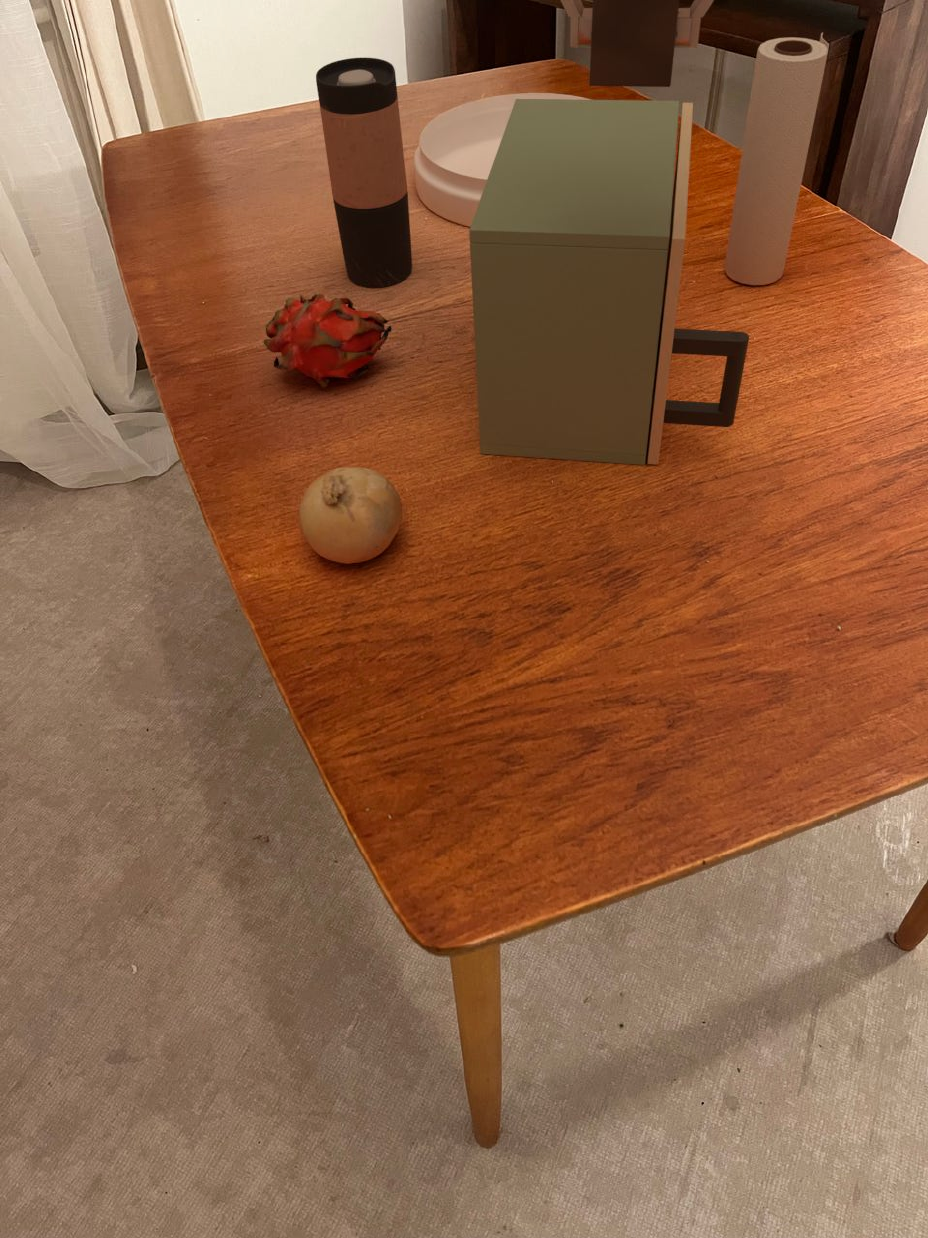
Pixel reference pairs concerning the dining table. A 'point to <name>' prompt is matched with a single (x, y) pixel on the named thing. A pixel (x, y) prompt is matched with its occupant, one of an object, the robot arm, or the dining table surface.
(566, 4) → the robot arm
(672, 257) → the cupboard door
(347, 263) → the travel mug
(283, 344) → the dragon fruit
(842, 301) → the dining table surface
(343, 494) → the onion
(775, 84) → the paper towel roll
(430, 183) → the plate
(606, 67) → the block
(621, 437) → the cupboard
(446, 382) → the dining table surface
